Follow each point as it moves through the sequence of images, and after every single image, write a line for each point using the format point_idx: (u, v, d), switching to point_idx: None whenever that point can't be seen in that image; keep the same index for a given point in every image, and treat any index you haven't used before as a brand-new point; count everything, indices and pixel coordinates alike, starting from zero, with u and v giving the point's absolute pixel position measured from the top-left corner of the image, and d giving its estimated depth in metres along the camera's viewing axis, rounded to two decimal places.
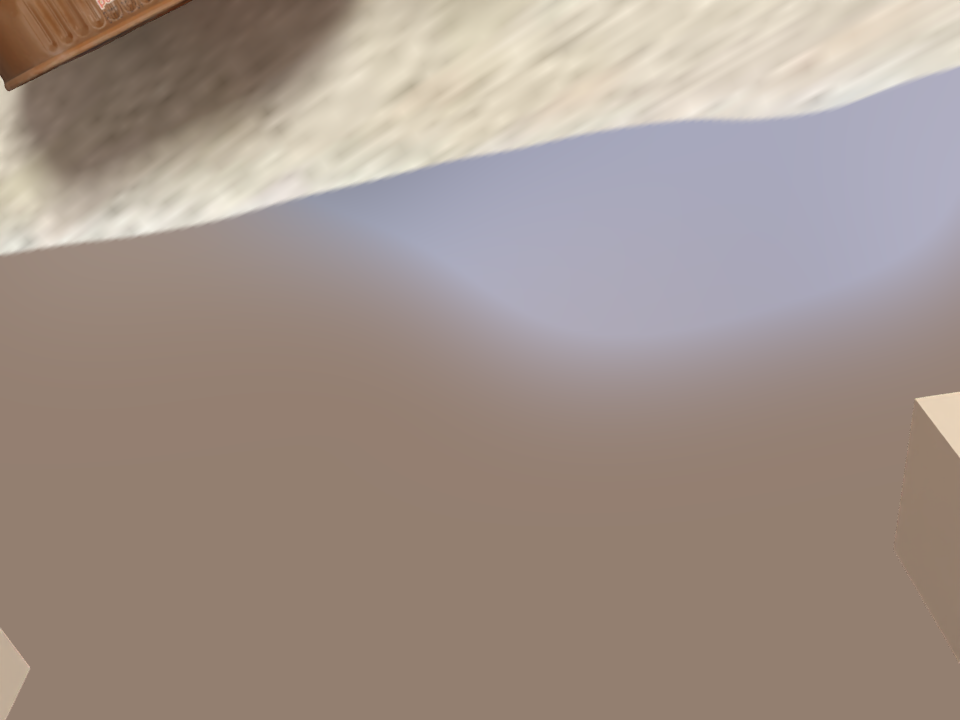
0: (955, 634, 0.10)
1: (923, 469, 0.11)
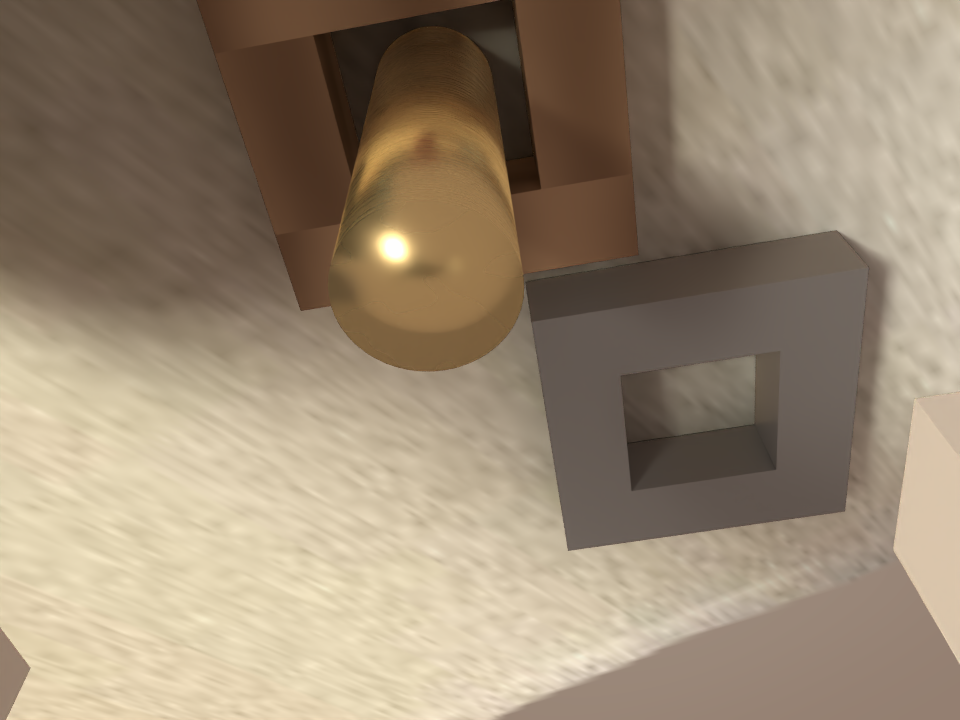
0: (955, 634, 0.10)
1: (923, 469, 0.11)
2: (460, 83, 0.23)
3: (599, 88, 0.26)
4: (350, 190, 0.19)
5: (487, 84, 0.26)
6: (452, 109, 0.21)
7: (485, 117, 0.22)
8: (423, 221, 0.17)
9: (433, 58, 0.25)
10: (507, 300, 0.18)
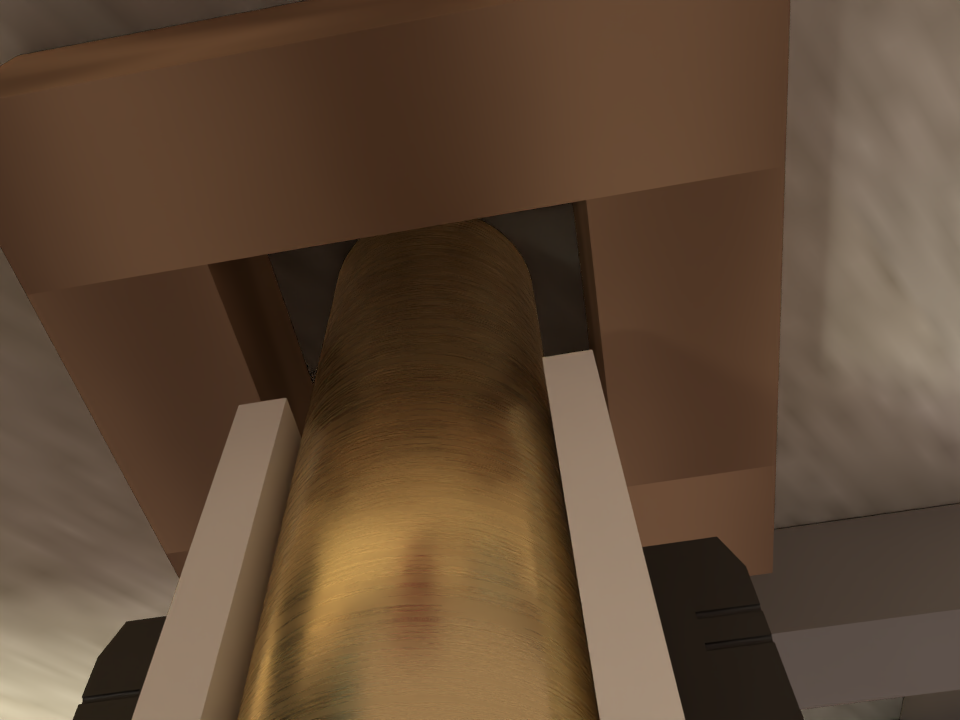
0: None
1: None
2: (485, 396, 0.12)
3: (731, 342, 0.15)
4: None
5: (531, 347, 0.14)
6: (471, 521, 0.10)
7: (540, 497, 0.11)
8: None
9: (432, 315, 0.13)
10: None
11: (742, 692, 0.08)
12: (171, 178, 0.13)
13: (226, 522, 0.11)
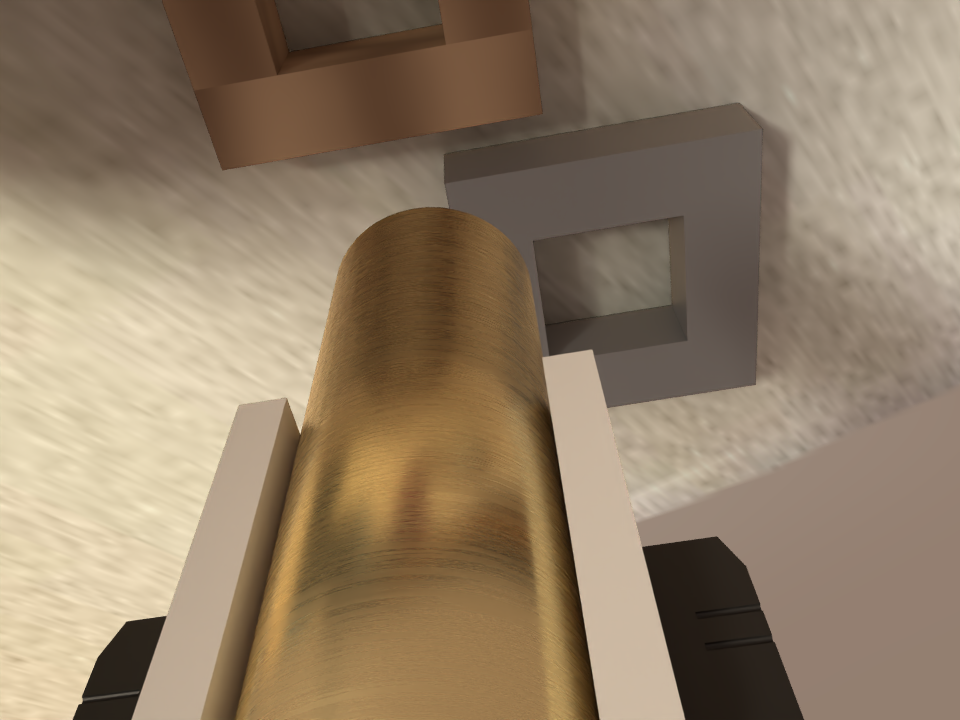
0: None
1: None
2: (483, 392, 0.12)
3: None
4: None
5: (530, 343, 0.14)
6: (469, 515, 0.10)
7: (537, 491, 0.11)
8: None
9: (430, 312, 0.13)
10: None
11: (742, 692, 0.08)
12: None
13: (226, 522, 0.11)
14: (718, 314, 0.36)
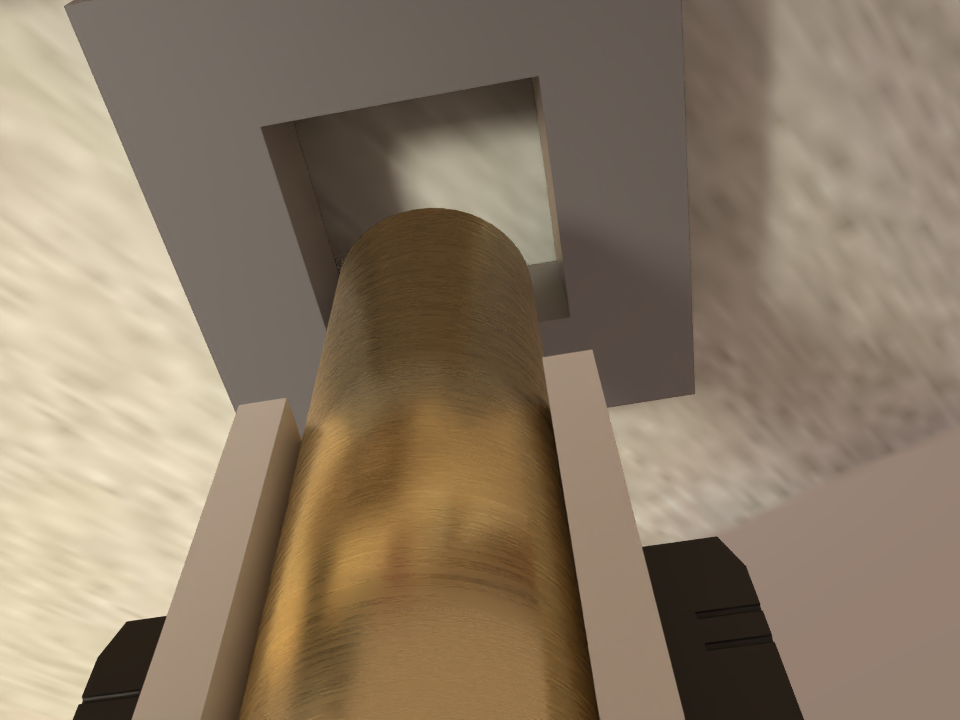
0: None
1: None
2: (485, 392, 0.12)
3: None
4: None
5: (531, 344, 0.14)
6: (471, 514, 0.10)
7: (539, 491, 0.11)
8: None
9: (432, 312, 0.13)
10: None
11: (742, 692, 0.08)
12: None
13: (226, 522, 0.11)
14: (620, 269, 0.20)
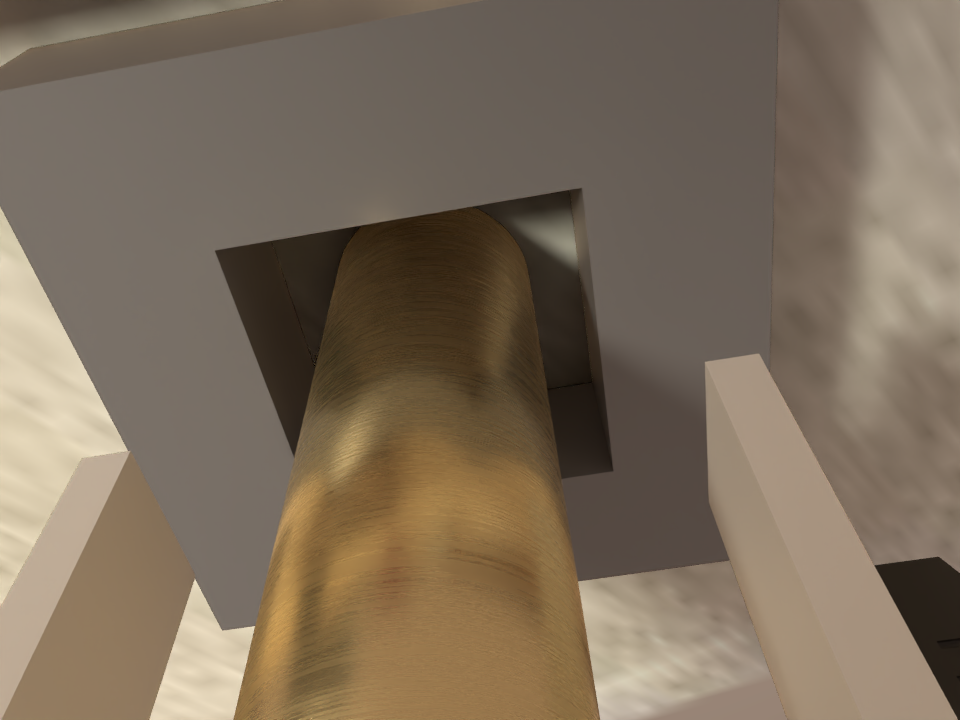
0: (739, 570, 0.12)
1: (713, 425, 0.12)
2: (481, 375, 0.12)
3: None
4: None
5: (527, 331, 0.14)
6: (467, 491, 0.10)
7: (533, 470, 0.11)
8: None
9: (430, 299, 0.13)
10: None
11: None
12: None
13: (36, 592, 0.10)
14: (679, 417, 0.16)
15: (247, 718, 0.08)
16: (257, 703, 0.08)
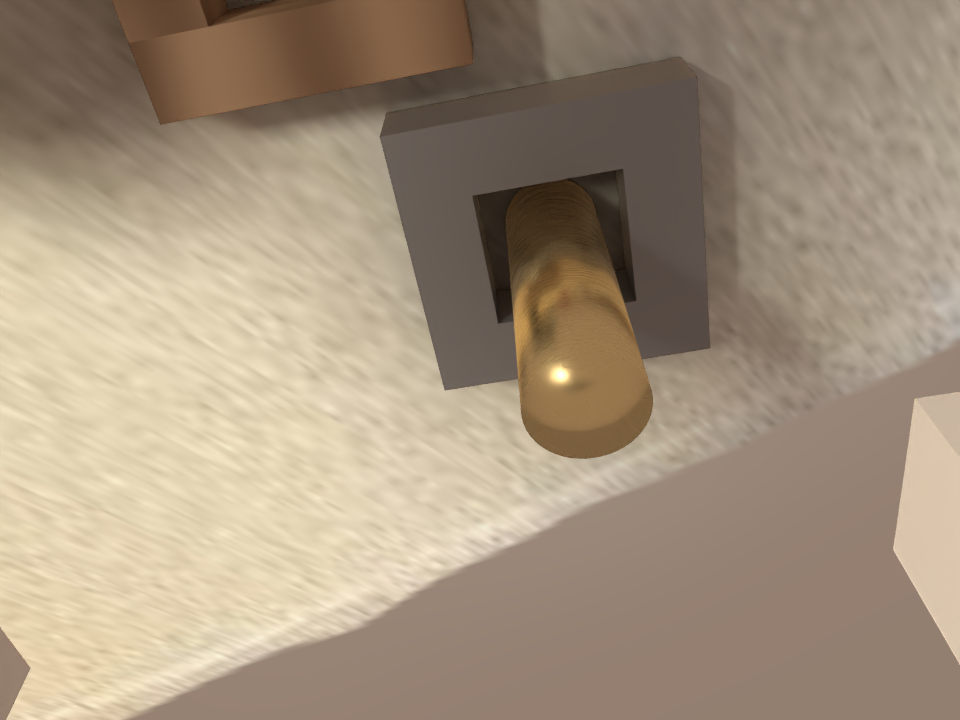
0: (955, 634, 0.10)
1: (923, 469, 0.11)
2: (586, 237, 0.32)
3: None
4: (525, 331, 0.28)
5: (599, 229, 0.34)
6: (587, 265, 0.30)
7: (607, 266, 0.31)
8: (589, 364, 0.25)
9: (561, 213, 0.33)
10: (640, 413, 0.26)
11: None
12: None
13: None
14: (666, 273, 0.36)
15: (528, 318, 0.28)
16: (531, 314, 0.28)
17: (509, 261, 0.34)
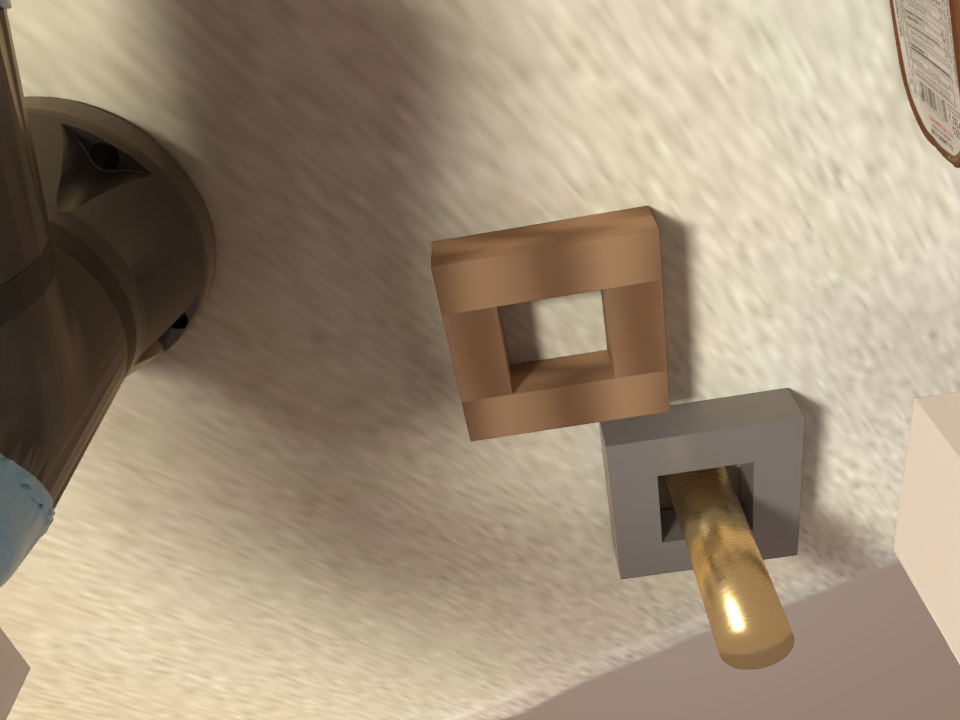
0: (955, 634, 0.10)
1: (923, 469, 0.11)
2: (735, 513, 0.52)
3: (650, 329, 0.48)
4: (713, 592, 0.48)
5: (736, 495, 0.54)
6: (743, 542, 0.50)
7: (751, 536, 0.51)
8: (762, 627, 0.45)
9: (715, 490, 0.53)
10: (786, 648, 0.46)
11: None
12: (491, 283, 0.46)
13: None
14: (773, 515, 0.56)
15: (714, 583, 0.48)
16: (716, 580, 0.48)
17: (680, 516, 0.54)
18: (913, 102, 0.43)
